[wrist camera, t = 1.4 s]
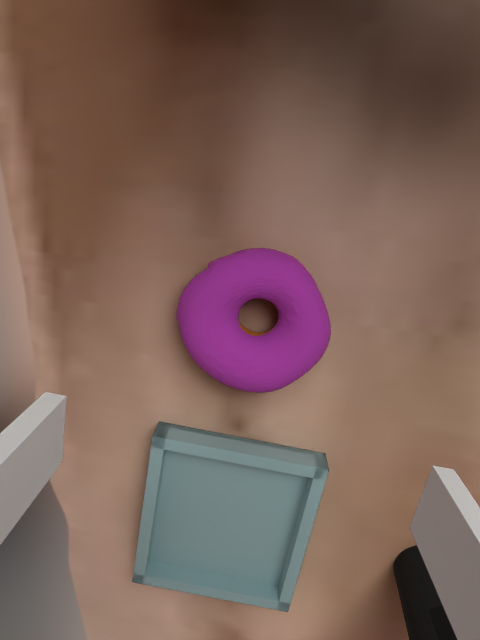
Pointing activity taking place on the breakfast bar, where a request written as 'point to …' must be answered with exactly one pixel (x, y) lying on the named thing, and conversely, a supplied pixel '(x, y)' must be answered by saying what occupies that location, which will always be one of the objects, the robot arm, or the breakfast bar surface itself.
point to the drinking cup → (420, 599)
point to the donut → (245, 345)
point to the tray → (227, 515)
